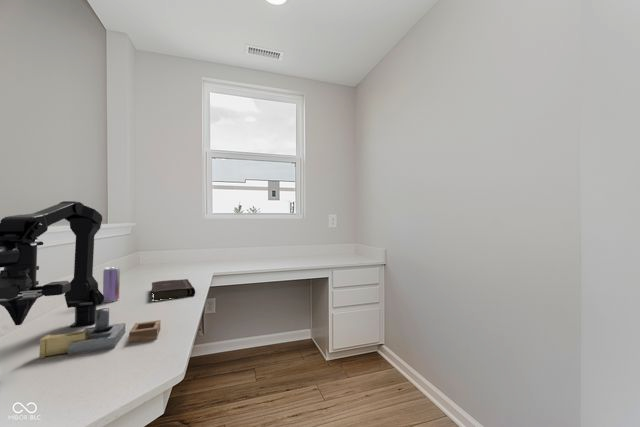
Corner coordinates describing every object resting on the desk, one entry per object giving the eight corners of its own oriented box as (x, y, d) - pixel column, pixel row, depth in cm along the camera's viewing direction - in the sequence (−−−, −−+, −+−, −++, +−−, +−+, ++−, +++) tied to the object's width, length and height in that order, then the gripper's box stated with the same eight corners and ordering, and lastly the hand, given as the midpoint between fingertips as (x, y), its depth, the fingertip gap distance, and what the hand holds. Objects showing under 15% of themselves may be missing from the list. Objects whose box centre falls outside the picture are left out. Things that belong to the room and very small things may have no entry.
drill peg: (97, 339, 81) (97, 309, 81) (110, 337, 82) (110, 307, 83) (93, 343, 78) (93, 312, 78) (106, 341, 79) (107, 310, 80)
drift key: (45, 353, 72) (46, 335, 72) (88, 346, 76) (88, 329, 76) (39, 358, 69) (40, 339, 69) (84, 351, 73) (84, 333, 73)
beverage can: (110, 303, 118) (110, 269, 119) (99, 302, 119) (100, 268, 120) (122, 299, 124) (123, 267, 125) (112, 298, 125) (112, 266, 126)
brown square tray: (135, 332, 85) (135, 323, 85) (160, 329, 88) (160, 320, 88) (129, 343, 78) (129, 332, 78) (156, 338, 81) (156, 328, 81)
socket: (85, 337, 82) (86, 328, 82) (125, 332, 86) (125, 322, 86) (68, 355, 71) (68, 344, 71) (114, 347, 75) (114, 337, 75)
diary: (188, 287, 151) (189, 278, 151) (195, 297, 130) (195, 286, 130) (149, 291, 141) (150, 281, 141) (149, 303, 120) (150, 291, 120)
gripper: (-61, 272, 58) (-64, 344, 58) (52, 266, 66) (50, 329, 66) (-22, 265, 69) (-24, 326, 68) (72, 260, 76) (70, 315, 76)
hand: (18, 324), depth 69 cm, fingers closed
